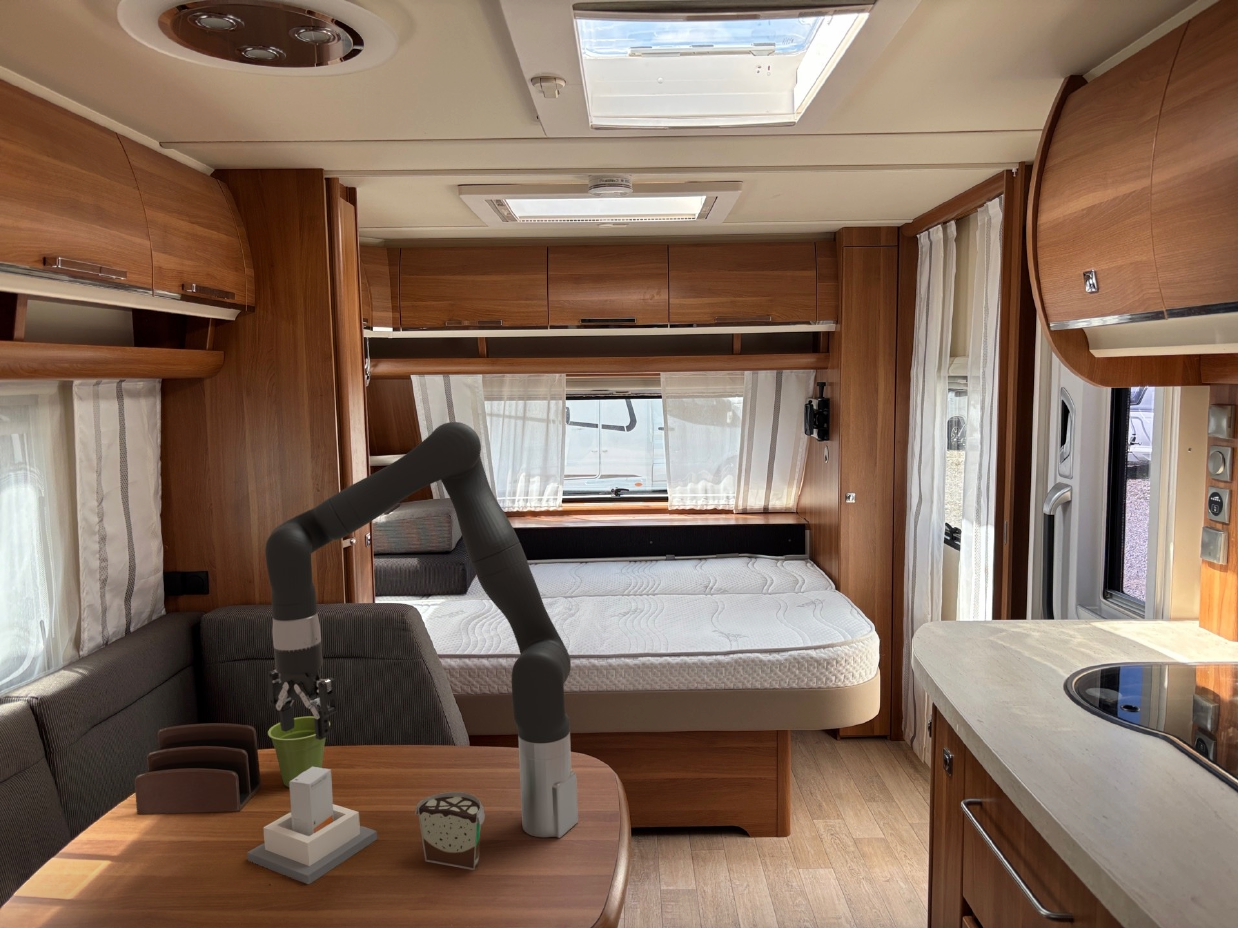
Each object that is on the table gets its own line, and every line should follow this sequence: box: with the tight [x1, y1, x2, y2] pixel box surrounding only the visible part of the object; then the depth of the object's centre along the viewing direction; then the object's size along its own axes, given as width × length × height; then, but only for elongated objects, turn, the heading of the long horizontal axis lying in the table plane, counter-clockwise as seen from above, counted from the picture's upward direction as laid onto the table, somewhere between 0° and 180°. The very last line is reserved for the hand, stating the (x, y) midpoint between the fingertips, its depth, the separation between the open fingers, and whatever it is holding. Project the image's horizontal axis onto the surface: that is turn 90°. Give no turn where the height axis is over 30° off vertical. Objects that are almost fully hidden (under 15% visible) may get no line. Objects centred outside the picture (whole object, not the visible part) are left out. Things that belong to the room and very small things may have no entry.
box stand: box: [246, 803, 378, 885], centre depth 145 cm, size 15×15×6 cm
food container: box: [414, 791, 486, 871], centre depth 142 cm, size 12×6×10 cm, turn 71°
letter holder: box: [134, 722, 262, 815], centre depth 164 cm, size 10×20×14 cm, turn 90°
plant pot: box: [267, 715, 331, 788], centre depth 171 cm, size 12×12×11 cm
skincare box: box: [288, 767, 334, 836], centre depth 145 cm, size 6×4×12 cm
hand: (305, 733), depth 143 cm, fingers open, 8 cm apart
